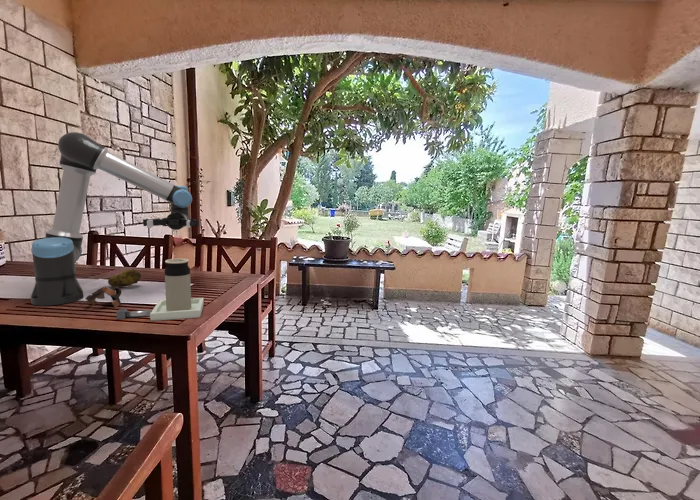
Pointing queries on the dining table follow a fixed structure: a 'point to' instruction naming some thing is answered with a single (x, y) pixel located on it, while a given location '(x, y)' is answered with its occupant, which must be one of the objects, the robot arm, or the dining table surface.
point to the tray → (163, 314)
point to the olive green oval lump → (125, 278)
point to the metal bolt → (131, 313)
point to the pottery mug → (100, 295)
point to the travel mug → (177, 285)
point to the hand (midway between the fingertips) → (168, 224)
